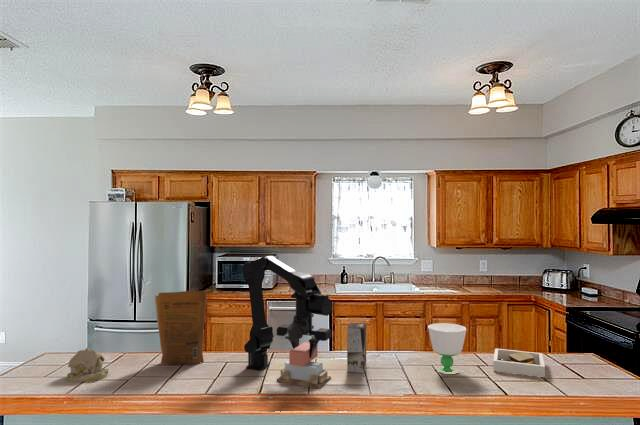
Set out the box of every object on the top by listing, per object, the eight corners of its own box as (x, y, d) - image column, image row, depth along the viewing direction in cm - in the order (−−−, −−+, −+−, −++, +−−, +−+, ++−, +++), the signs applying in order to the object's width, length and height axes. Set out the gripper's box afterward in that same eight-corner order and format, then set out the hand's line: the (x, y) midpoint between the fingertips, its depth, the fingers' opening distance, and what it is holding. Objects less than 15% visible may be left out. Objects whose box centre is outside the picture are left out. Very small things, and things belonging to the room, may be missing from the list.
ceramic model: (58, 381, 155) (58, 351, 155) (80, 370, 166) (80, 342, 166) (95, 383, 153) (96, 353, 153) (115, 372, 164) (115, 344, 164)
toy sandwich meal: (491, 362, 174) (491, 350, 175) (525, 362, 175) (525, 350, 175) (506, 373, 162) (506, 360, 162) (543, 373, 163) (543, 359, 163)
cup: (425, 374, 161) (424, 329, 161) (430, 362, 174) (430, 321, 174) (465, 379, 156) (465, 333, 156) (468, 367, 169) (467, 324, 169)
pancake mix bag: (204, 366, 170) (204, 291, 171) (153, 366, 170) (154, 292, 170) (208, 360, 177) (208, 289, 177) (159, 360, 176) (160, 289, 177)
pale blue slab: (284, 377, 155) (284, 362, 155) (291, 372, 160) (291, 358, 160) (316, 382, 151) (316, 366, 151) (322, 377, 155) (322, 362, 155)
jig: (276, 381, 154) (276, 371, 154) (290, 372, 163) (290, 363, 163) (319, 388, 148) (319, 378, 148) (330, 378, 157) (330, 368, 157)
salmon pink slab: (304, 354, 162) (304, 342, 162) (317, 356, 160) (317, 343, 160) (289, 364, 151) (289, 351, 151) (302, 366, 149) (302, 352, 149)
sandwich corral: (493, 371, 164) (493, 360, 164) (495, 358, 179) (495, 348, 179) (544, 378, 157) (544, 366, 157) (542, 363, 172) (542, 353, 172)
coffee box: (364, 373, 162) (364, 328, 162) (346, 372, 163) (346, 327, 163) (366, 365, 171) (366, 322, 171) (350, 364, 172) (350, 321, 172)
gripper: (268, 314, 152) (268, 360, 152) (319, 319, 145) (319, 367, 144) (284, 308, 162) (284, 351, 162) (332, 312, 155) (332, 358, 155)
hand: (303, 357), depth 155 cm, fingers closed on salmon pink slab, 5 cm apart
